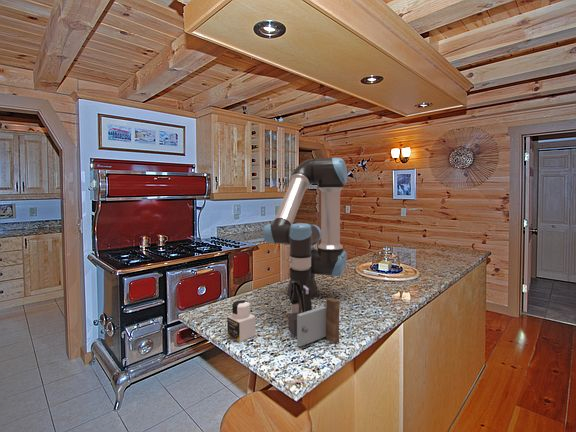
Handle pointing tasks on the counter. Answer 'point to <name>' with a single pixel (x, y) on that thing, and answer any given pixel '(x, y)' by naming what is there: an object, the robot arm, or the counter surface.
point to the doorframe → (331, 320)
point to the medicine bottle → (241, 321)
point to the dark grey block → (293, 323)
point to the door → (311, 325)
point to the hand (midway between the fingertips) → (299, 327)
